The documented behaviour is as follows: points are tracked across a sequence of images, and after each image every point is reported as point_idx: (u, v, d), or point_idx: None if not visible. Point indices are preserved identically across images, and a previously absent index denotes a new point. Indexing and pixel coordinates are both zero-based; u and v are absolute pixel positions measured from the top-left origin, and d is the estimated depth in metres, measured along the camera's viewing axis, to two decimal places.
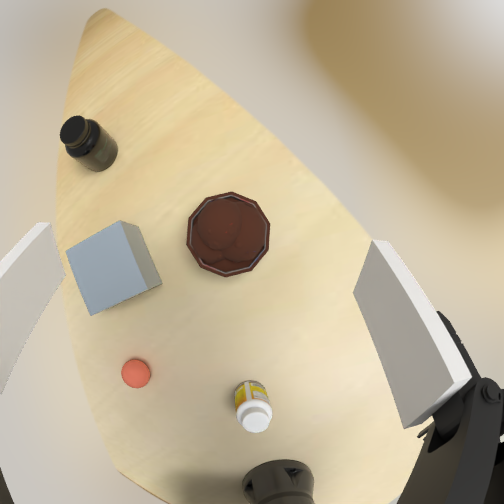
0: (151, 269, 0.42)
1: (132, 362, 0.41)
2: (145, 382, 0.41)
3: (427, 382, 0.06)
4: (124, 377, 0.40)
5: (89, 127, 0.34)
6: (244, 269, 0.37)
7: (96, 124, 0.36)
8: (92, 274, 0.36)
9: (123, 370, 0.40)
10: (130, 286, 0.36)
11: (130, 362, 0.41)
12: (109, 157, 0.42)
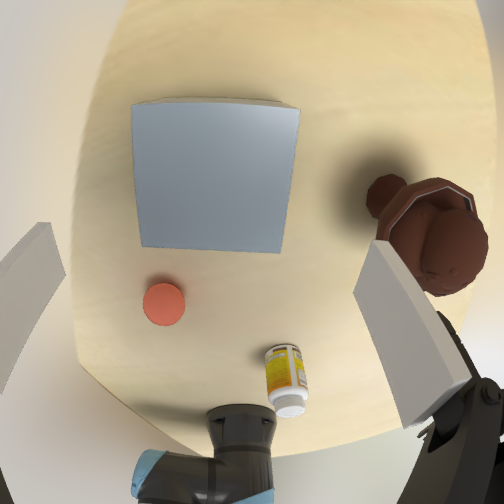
0: None
1: (167, 293, 0.30)
2: (175, 322, 0.32)
3: (427, 382, 0.06)
4: (149, 312, 0.29)
5: None
6: None
7: None
8: (179, 180, 0.17)
9: (151, 302, 0.29)
10: (251, 236, 0.20)
11: (165, 293, 0.30)
12: None
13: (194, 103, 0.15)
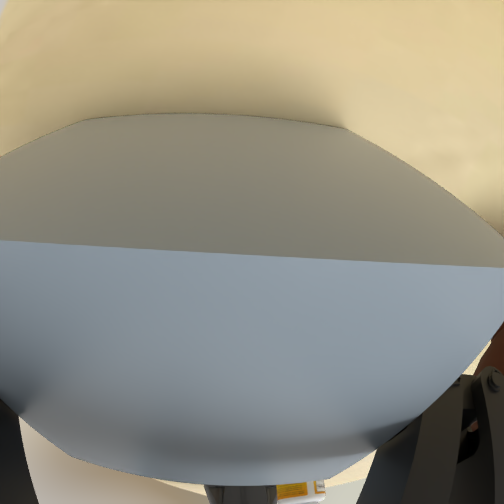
0: None
1: None
2: None
3: None
4: None
5: None
6: None
7: None
8: (89, 432, 0.05)
9: None
10: (278, 479, 0.07)
11: None
12: None
13: (3, 245, 0.02)
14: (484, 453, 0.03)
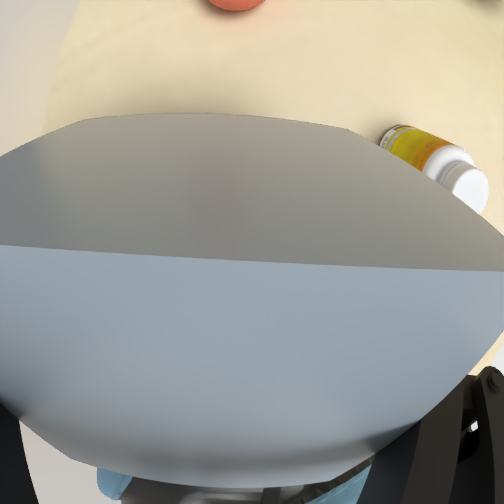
0: None
1: None
2: None
3: None
4: None
5: None
6: None
7: None
8: (87, 436, 0.04)
9: None
10: (279, 482, 0.07)
11: None
12: None
13: None
14: (484, 453, 0.03)
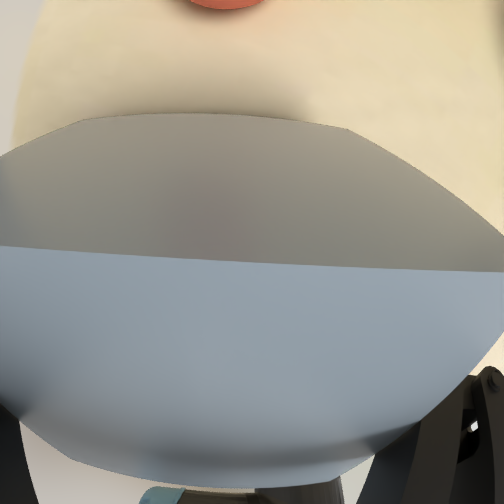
0: None
1: None
2: None
3: None
4: None
5: None
6: None
7: None
8: (87, 436, 0.04)
9: (201, 5, 0.08)
10: (279, 482, 0.07)
11: (238, 0, 0.07)
12: None
13: None
14: (484, 453, 0.03)
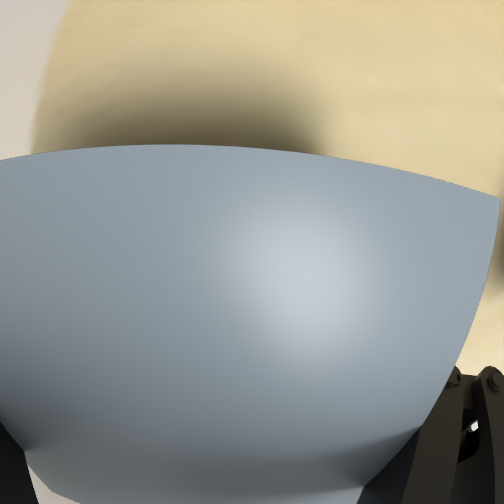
0: None
1: None
2: None
3: None
4: None
5: None
6: None
7: None
8: (72, 435, 0.04)
9: None
10: None
11: None
12: None
13: (52, 156, 0.03)
14: (484, 453, 0.03)
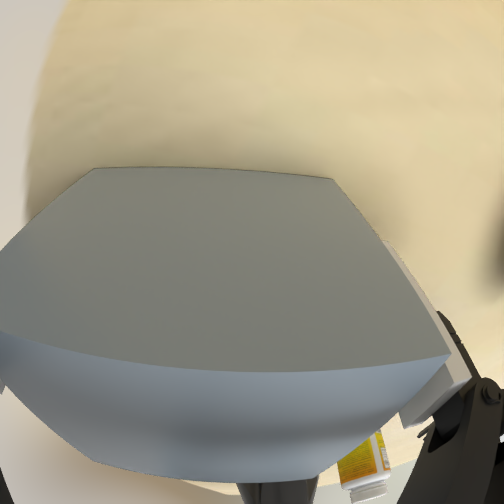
0: None
1: None
2: None
3: (427, 382, 0.06)
4: None
5: None
6: None
7: None
8: (120, 444, 0.06)
9: None
10: (268, 478, 0.09)
11: None
12: None
13: (82, 355, 0.04)
14: None
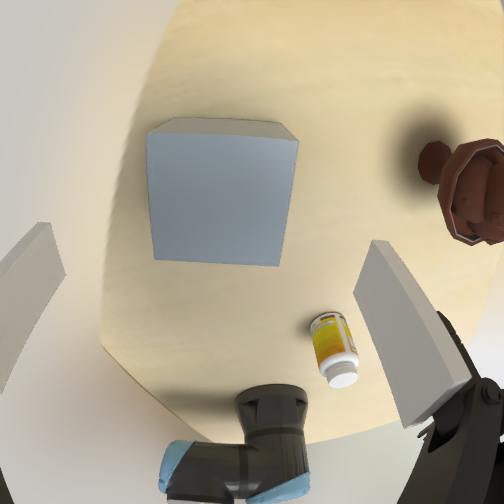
0: None
1: None
2: None
3: (427, 382, 0.06)
4: None
5: None
6: (469, 241, 0.22)
7: None
8: (190, 202, 0.20)
9: None
10: (253, 251, 0.22)
11: None
12: None
13: (203, 134, 0.17)
14: None
